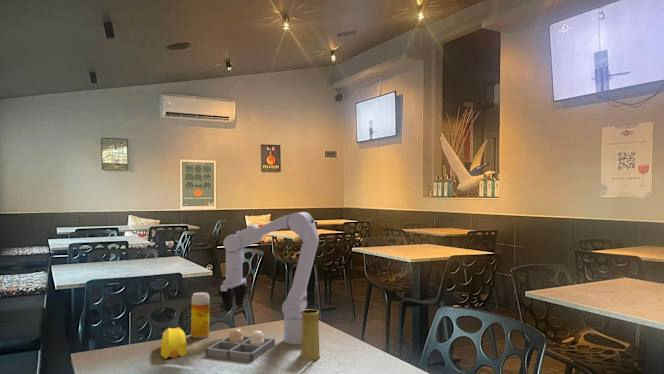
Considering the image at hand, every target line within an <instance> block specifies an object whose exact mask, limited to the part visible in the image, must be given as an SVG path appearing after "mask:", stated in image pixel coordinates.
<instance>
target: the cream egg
mask: <svg viewBox="0 0 664 374" xmlns="http://www.w3.org/2000/svg"><path fill="white" fill-rule="evenodd" d="M264 334H265V333H264V332H263V331H261V330H259V329H257V330H254V331H252V332H251V334H250V335H249V336H250V344H254V345H263V344H264V338H265V335H264Z"/></svg>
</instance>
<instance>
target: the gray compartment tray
mask: <svg viewBox="0 0 664 374" xmlns="http://www.w3.org/2000/svg"><path fill="white" fill-rule="evenodd" d="M250 336H251V335H243V342H241V343H236V342H230V334H229V335H227V336H225V337H224V338H222V339H220V340H218V341H217V342H215V343H213V344H212V345H210V346H208V347H206V348H204V349H205V352H204V356H205V357H208V358H210V357H211V358H217V359H225V360H232V361H241V362H249V363H253V362H254V361H256V360H257V359H259V358H260V357H261V356H263V355H264V354H265V353H266V352H268V351H270V350H271V349H272V348H273V347H275V344H276V343H275V342H276V341H275V338H272V337H271V338H269V337H264V344H263V345H254V344H250Z"/></svg>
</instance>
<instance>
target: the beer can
mask: <svg viewBox="0 0 664 374" xmlns="http://www.w3.org/2000/svg"><path fill="white" fill-rule="evenodd" d="M210 298H211V297H210V294H209V293H208V292H205V291H200V292H194V293H193V294H192V295H191V310H190V312H191V313H190V314H191V317H190V318H191V319H190V320H191V321H190V323H191V324H190V325H191V327H190V332H191V333H190V335H191V336H192V338H193V339H199V340H201V339H206V338H208V336H209V334H210Z"/></svg>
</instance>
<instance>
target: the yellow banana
mask: <svg viewBox="0 0 664 374" xmlns="http://www.w3.org/2000/svg"><path fill="white" fill-rule="evenodd" d="M161 337H162V338H161V342H160V356H161V357H162V358H164V359H165V360H167V359H169V358H171V359H177V358H178V357H179V356H180V357H185V355H186V354H187V353H188V345H187V340H186V333H185V331H184V329H182V328H181V327H180V326H178V327H174V328H171V327H168V328H166V330H165V331H164V332H163V333H162V336H161Z"/></svg>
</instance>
